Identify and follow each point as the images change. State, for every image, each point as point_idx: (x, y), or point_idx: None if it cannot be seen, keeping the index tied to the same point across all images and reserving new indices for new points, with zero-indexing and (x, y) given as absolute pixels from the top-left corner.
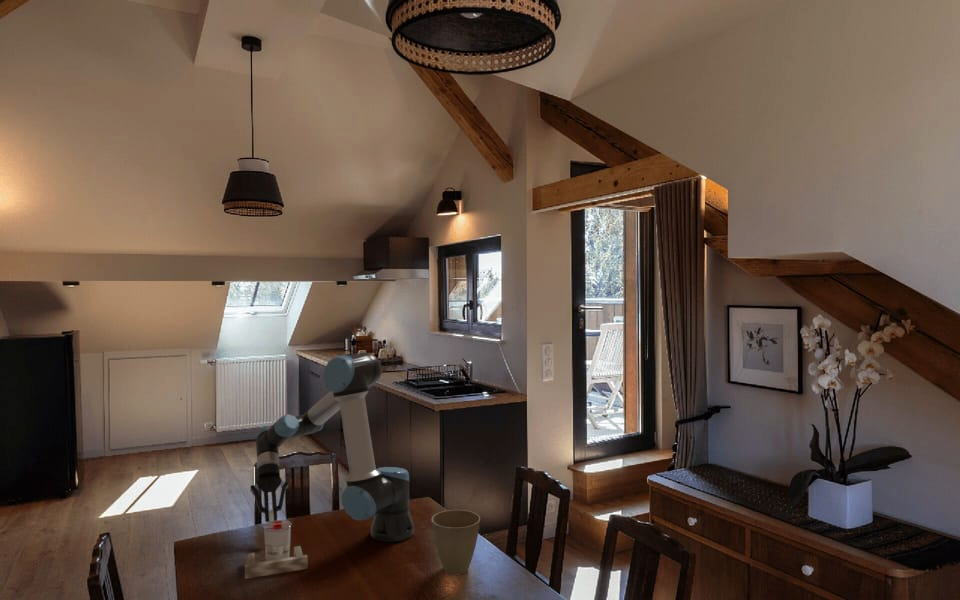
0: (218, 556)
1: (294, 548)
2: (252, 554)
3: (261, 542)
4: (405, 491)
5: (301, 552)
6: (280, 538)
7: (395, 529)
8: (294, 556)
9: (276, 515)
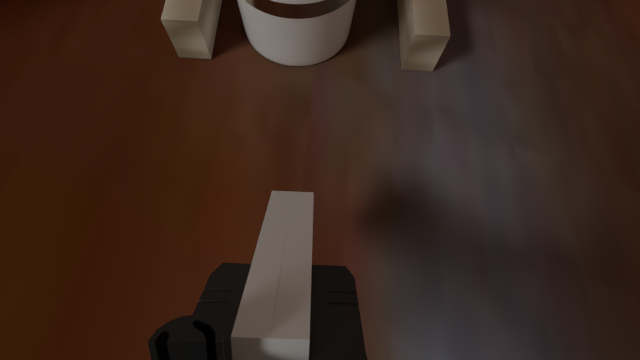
0: (599, 214)
1: (200, 2)
2: (424, 18)
3: None
4: None
5: None
6: None
7: None
8: (213, 29)
9: (209, 296)
